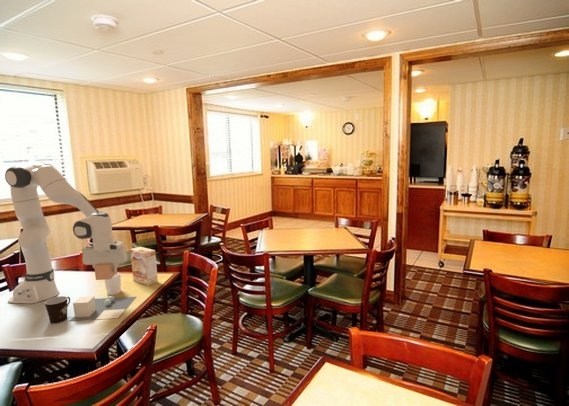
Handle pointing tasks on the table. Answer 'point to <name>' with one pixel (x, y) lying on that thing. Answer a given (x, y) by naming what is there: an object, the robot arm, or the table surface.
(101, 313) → the mat
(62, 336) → the table surface
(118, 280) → the white cup
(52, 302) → the coffee mug
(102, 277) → the salmon rectangular box
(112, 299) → the marble
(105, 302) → the marble
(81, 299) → the pale beige cube
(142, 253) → the coffeecake box
